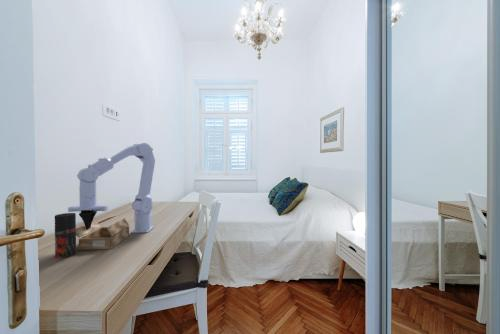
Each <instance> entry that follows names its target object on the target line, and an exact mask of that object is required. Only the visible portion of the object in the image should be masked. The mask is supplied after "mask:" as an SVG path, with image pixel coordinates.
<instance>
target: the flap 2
mask: <svg viewBox="0 0 500 334" xmlns="http://www.w3.org/2000/svg"><path fill="white" fill-rule="evenodd" d="M127 226H129V227H130V224H129V222H128V221H127V220H126V218H125V217H124V218H122V219H120V220H118V221H117V222H115V223H113V224H111V225H109V226H106V227H107V228H106V229H107V230H108V232H109V233H110V235H111V236H113V235H115V234H116V233H118V232H120V231H121V230H123V229H124V228H126V227H127Z"/></svg>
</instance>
